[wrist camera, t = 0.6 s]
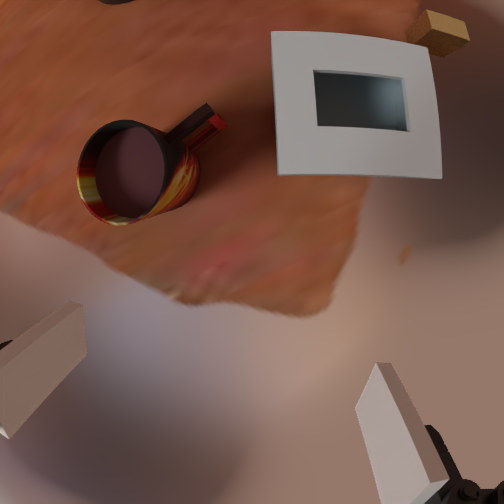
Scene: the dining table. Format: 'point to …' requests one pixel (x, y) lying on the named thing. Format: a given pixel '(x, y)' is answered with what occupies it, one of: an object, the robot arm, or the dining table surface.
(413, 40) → the token
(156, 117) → the dining table surface
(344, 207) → the dining table surface
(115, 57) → the dining table surface
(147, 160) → the mug
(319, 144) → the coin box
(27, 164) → the dining table surface
